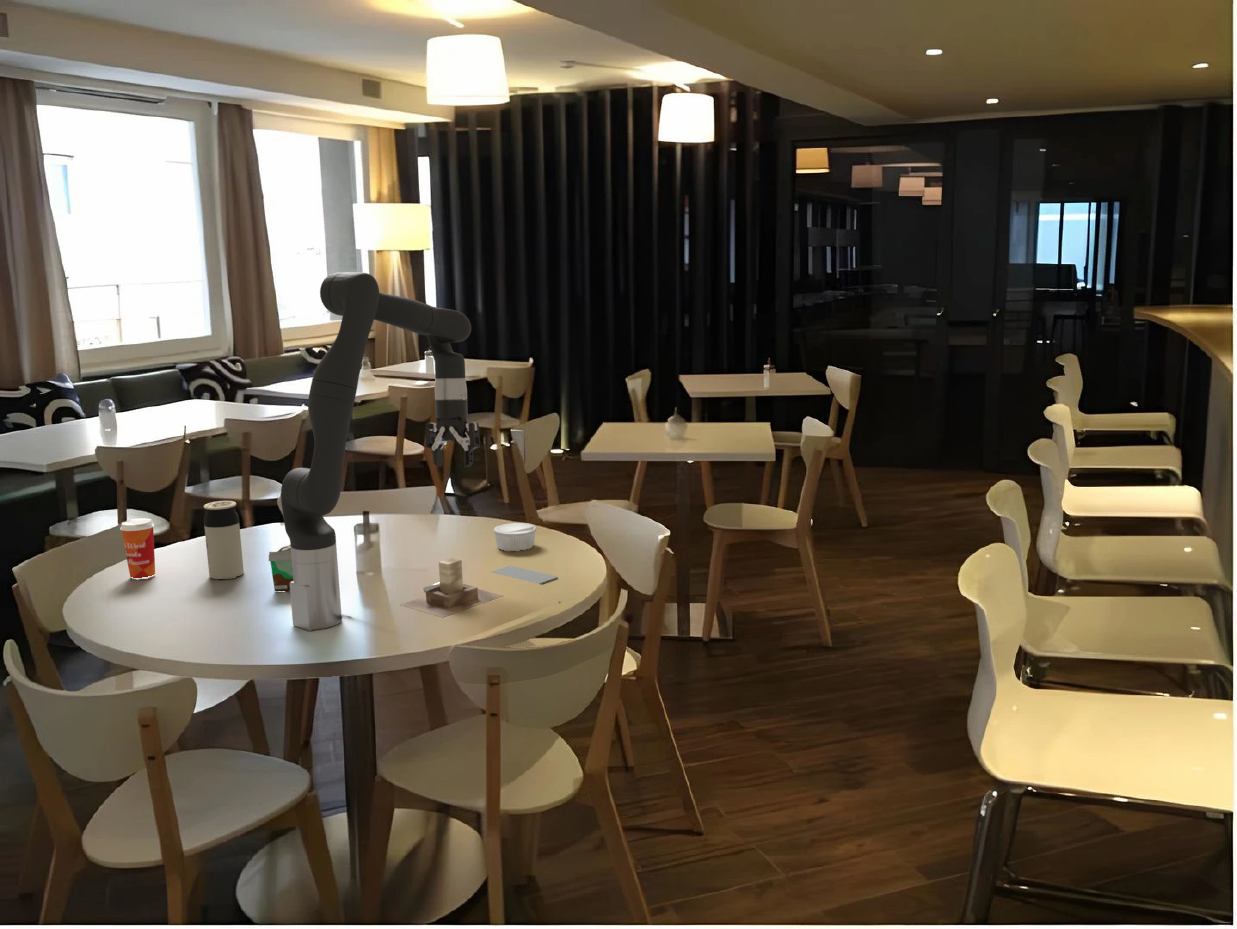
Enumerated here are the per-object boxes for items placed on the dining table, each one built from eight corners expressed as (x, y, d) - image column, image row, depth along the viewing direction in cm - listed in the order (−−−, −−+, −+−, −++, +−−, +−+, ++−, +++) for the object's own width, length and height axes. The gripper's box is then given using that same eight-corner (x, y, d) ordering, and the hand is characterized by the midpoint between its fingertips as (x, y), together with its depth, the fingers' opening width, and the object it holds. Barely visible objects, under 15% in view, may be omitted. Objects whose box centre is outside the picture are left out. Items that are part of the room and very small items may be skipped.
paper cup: (118, 580, 262) (112, 524, 259) (141, 571, 269) (135, 517, 266) (145, 582, 259) (139, 526, 257) (167, 573, 267) (161, 518, 264)
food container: (295, 595, 247) (292, 553, 245) (271, 594, 249) (267, 552, 247) (320, 579, 259) (317, 539, 257) (297, 578, 260) (294, 538, 258)
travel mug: (248, 570, 268) (242, 500, 264) (236, 580, 260) (229, 507, 256) (217, 570, 268) (210, 500, 264) (204, 580, 260) (196, 508, 257)
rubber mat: (503, 597, 242) (503, 596, 242) (455, 585, 253) (455, 583, 252) (557, 578, 256) (557, 576, 256) (510, 567, 266) (510, 565, 266)
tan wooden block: (450, 603, 236) (447, 564, 234) (440, 601, 238) (438, 562, 236) (463, 599, 239) (461, 560, 237) (454, 596, 241) (452, 557, 239)
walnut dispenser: (442, 621, 228) (441, 600, 227) (400, 609, 236) (398, 588, 235) (503, 599, 241) (502, 579, 240) (461, 588, 250) (460, 569, 249)
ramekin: (527, 554, 277) (526, 534, 276) (487, 551, 281) (486, 532, 280) (543, 543, 288) (542, 524, 287) (504, 540, 291) (504, 521, 290)
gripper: (417, 398, 253) (419, 467, 255) (466, 397, 247) (468, 468, 248) (436, 398, 260) (439, 465, 261) (485, 397, 253) (487, 465, 254)
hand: (453, 466), depth 255 cm, fingers open, 8 cm apart
